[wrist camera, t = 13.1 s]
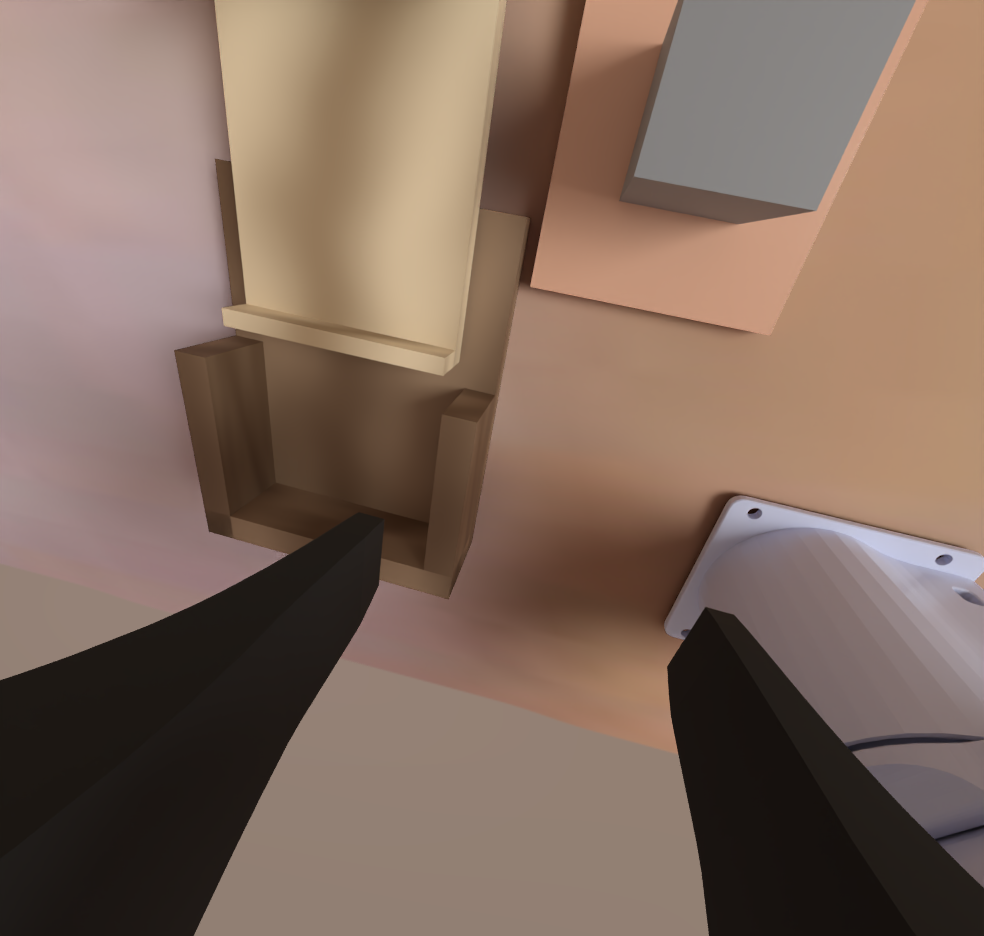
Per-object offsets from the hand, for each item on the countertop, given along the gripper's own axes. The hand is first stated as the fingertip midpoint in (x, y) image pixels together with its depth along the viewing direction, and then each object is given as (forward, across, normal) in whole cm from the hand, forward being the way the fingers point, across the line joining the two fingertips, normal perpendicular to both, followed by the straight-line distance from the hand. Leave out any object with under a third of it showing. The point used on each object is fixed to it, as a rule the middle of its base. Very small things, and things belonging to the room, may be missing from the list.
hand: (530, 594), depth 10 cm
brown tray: (+10, +8, 0) cm, 12 cm away
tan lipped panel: (+8, +8, -8) cm, 14 cm away
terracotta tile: (+9, -2, -9) cm, 13 cm away
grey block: (+9, -2, -10) cm, 13 cm away
